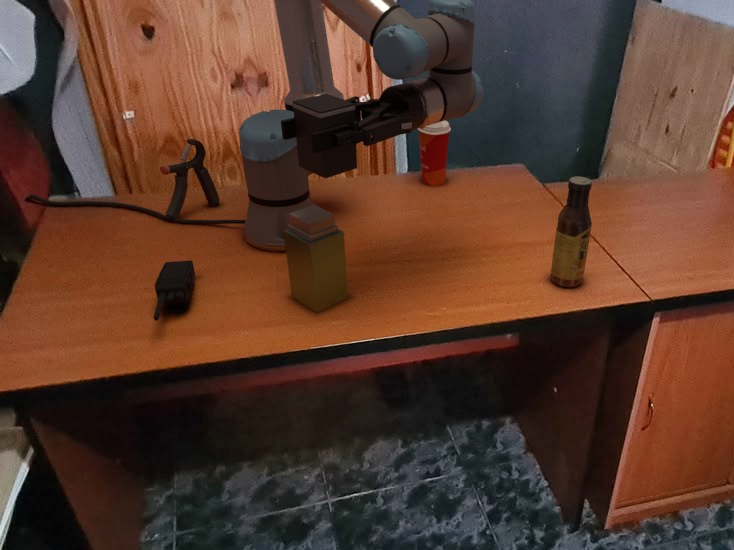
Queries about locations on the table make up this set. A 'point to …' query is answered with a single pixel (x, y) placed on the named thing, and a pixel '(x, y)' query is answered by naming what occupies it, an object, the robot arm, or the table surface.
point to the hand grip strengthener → (181, 179)
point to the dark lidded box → (323, 116)
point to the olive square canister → (316, 258)
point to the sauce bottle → (572, 235)
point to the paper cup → (434, 152)
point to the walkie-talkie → (174, 286)
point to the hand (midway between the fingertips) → (298, 136)
